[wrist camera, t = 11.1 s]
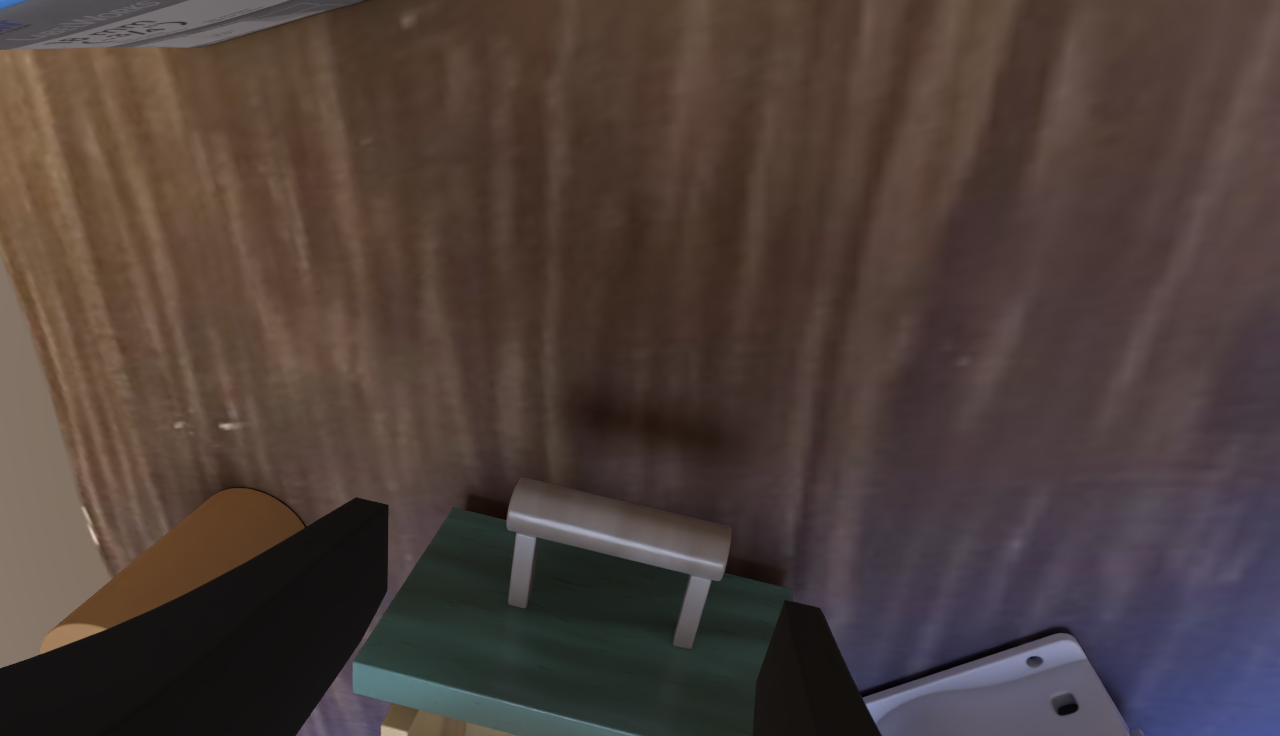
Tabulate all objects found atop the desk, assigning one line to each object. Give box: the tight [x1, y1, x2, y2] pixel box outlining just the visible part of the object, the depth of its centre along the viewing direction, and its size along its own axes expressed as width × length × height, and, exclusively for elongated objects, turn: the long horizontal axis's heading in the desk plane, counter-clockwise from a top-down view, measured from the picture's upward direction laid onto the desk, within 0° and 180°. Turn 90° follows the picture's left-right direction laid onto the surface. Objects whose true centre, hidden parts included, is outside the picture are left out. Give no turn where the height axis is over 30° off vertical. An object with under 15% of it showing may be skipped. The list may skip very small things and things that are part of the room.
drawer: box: [353, 477, 793, 736], centre depth 23 cm, size 18×12×7 cm
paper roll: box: [40, 488, 305, 654], centre depth 24 cm, size 5×5×7 cm
